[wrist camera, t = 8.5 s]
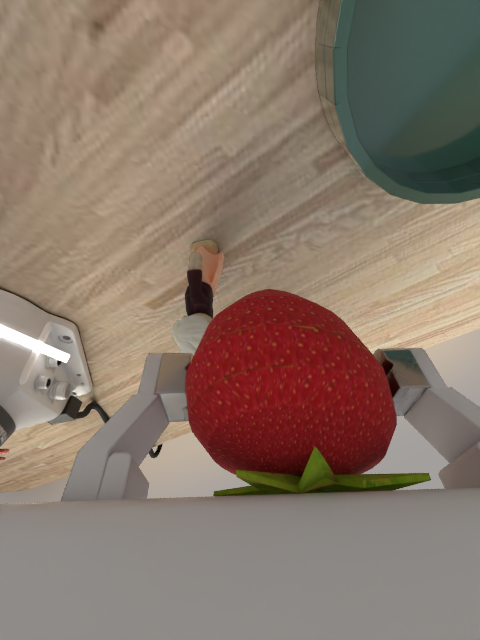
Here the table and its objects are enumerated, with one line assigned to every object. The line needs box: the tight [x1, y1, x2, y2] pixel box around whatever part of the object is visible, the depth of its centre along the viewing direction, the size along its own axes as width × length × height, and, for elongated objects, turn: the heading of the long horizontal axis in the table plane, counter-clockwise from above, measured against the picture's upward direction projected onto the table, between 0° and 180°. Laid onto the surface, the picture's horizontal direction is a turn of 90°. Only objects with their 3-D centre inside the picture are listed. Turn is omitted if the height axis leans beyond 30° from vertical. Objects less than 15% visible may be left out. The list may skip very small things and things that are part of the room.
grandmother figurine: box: [172, 240, 224, 356], centre depth 26 cm, size 8×4×13 cm, turn 9°
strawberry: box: [185, 289, 431, 496], centre depth 10 cm, size 6×8×10 cm
